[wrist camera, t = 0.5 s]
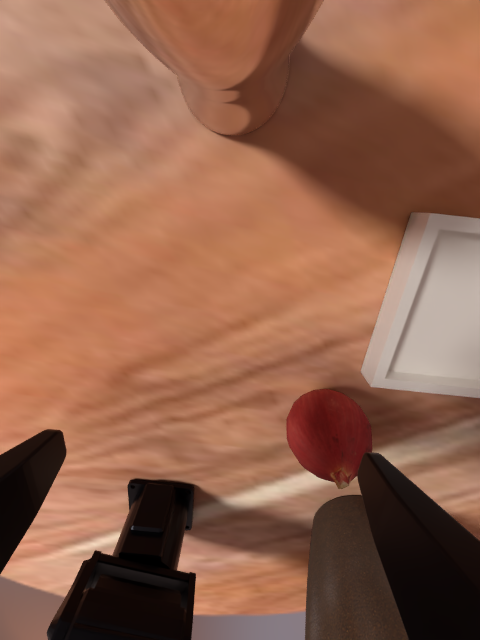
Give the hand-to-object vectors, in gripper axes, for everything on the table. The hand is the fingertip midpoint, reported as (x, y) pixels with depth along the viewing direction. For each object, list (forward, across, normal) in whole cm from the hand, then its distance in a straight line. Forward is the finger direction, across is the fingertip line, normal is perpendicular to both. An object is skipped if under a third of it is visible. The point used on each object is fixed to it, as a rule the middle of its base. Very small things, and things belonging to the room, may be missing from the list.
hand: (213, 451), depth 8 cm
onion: (+13, -8, +7) cm, 17 cm away
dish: (+13, -17, -1) cm, 21 cm away
